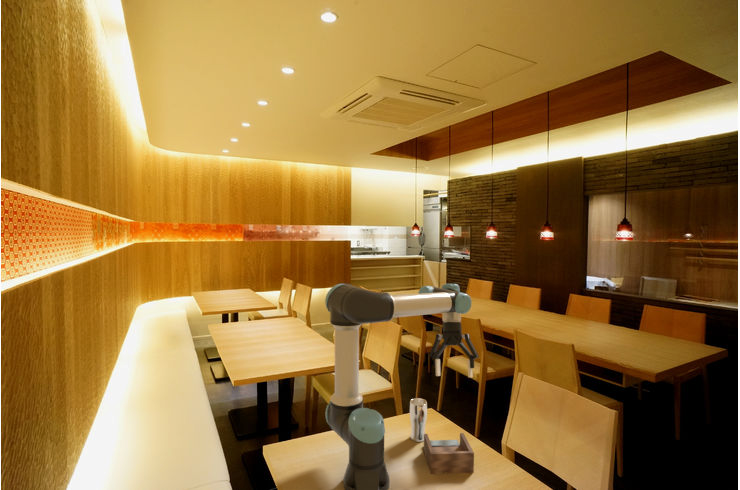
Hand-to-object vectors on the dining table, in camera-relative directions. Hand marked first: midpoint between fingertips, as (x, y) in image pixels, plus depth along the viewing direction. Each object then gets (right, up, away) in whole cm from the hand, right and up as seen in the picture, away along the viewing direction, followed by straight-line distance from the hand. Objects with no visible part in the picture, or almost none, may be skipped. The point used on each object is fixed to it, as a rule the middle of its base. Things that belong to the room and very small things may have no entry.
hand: (453, 376), depth 157 cm
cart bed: (-5, -26, -11) cm, 29 cm away
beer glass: (-14, -26, +3) cm, 29 cm away
